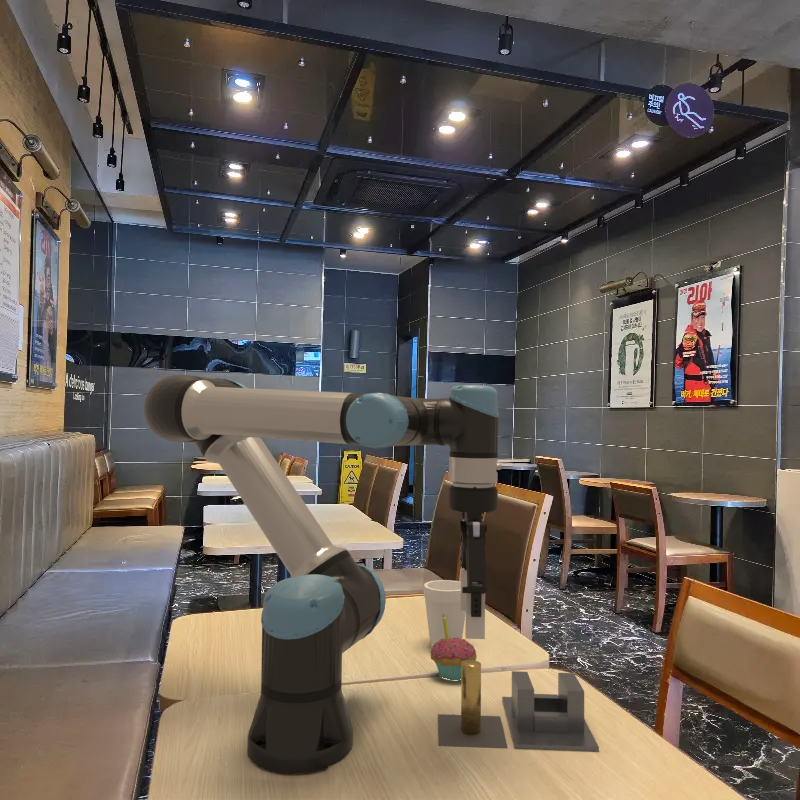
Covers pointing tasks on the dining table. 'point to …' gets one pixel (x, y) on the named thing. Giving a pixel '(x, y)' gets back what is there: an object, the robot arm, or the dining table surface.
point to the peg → (471, 697)
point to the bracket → (548, 716)
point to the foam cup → (444, 609)
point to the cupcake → (451, 655)
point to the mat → (486, 738)
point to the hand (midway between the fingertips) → (471, 623)
